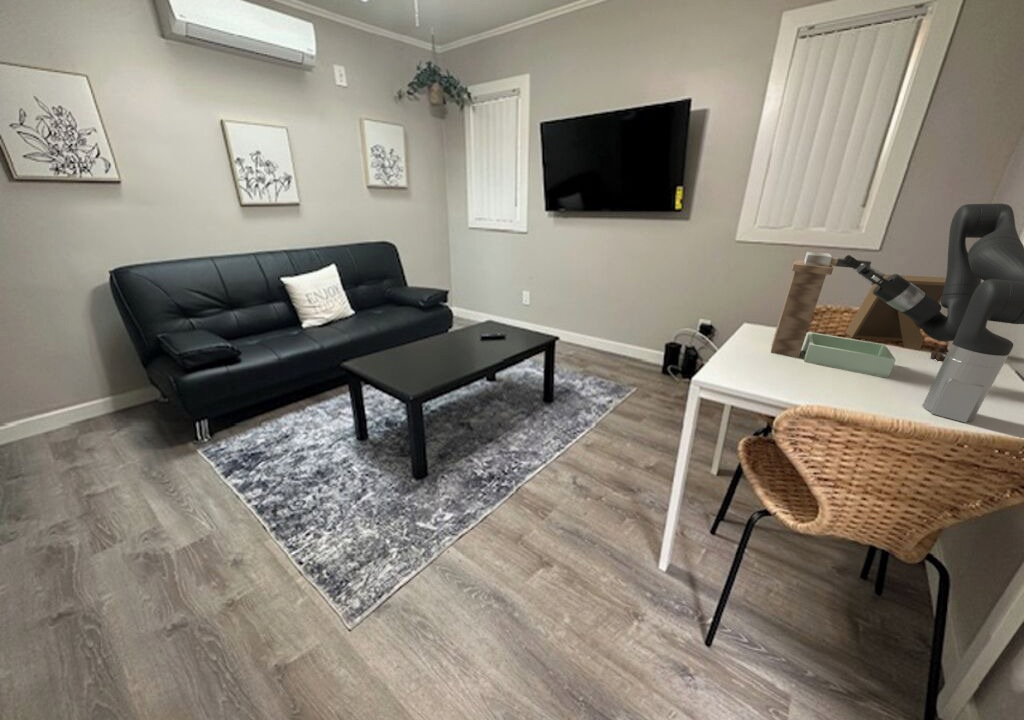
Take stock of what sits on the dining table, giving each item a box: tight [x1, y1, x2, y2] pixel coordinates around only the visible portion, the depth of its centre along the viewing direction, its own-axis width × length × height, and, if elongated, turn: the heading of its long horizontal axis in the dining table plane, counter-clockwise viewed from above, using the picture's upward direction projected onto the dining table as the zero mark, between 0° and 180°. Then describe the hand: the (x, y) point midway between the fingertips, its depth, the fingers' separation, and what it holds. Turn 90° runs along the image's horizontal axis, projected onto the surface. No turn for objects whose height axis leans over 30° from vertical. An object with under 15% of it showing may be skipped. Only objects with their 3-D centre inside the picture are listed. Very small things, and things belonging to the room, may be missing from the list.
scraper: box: [804, 251, 872, 269], centre depth 125 cm, size 16×10×3 cm, turn 57°
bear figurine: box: [930, 347, 949, 362], centre depth 136 cm, size 18×4×14 cm
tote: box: [802, 331, 896, 379], centre depth 131 cm, size 21×16×6 cm
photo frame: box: [845, 274, 946, 351], centre depth 148 cm, size 15×22×25 cm
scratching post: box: [770, 258, 834, 359], centre depth 134 cm, size 10×14×30 cm
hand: (846, 258), depth 123 cm, fingers open, 3 cm apart
